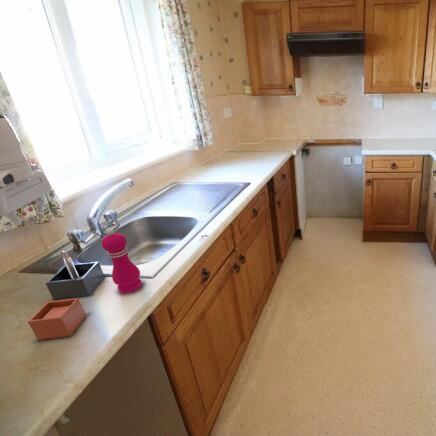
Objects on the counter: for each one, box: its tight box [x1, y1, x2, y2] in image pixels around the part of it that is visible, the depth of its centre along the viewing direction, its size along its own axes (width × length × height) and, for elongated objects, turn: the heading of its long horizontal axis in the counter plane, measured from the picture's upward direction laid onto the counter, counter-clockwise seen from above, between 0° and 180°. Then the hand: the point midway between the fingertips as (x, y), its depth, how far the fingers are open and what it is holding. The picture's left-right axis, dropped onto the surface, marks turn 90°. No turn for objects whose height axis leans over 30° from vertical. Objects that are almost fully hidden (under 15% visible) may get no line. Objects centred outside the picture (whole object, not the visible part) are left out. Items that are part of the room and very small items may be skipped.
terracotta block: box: [42, 306, 69, 319], centre depth 83 cm, size 4×4×4 cm
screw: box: [60, 250, 83, 279], centre depth 97 cm, size 13×5×5 cm
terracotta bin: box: [27, 297, 87, 341], centre depth 83 cm, size 8×8×6 cm
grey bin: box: [45, 261, 106, 301], centre depth 99 cm, size 10×10×6 cm
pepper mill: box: [101, 228, 143, 294], centre depth 95 cm, size 7×7×20 cm
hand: (31, 217), depth 95 cm, fingers open, 8 cm apart
